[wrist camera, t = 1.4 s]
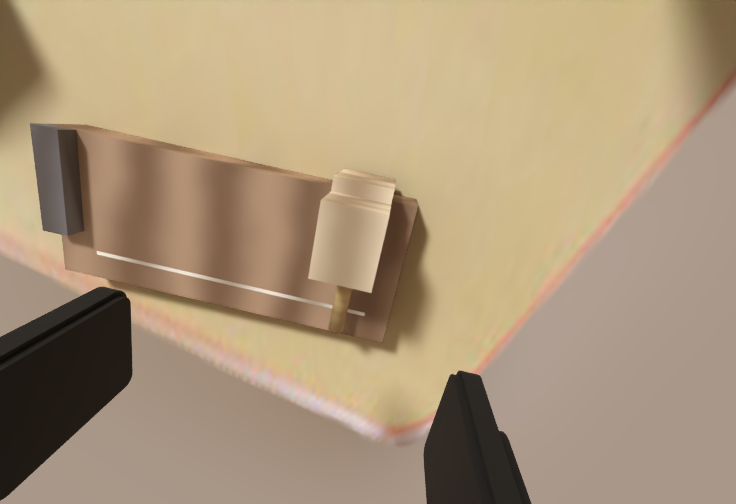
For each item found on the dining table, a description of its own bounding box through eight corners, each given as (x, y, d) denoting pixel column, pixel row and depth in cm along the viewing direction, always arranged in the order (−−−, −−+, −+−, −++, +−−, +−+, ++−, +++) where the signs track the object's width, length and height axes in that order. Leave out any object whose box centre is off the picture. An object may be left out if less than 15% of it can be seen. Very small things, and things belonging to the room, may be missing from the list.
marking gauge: (395, 179, 27) (393, 198, 19) (364, 312, 31) (352, 371, 23) (345, 168, 27) (323, 182, 19) (321, 302, 31) (295, 357, 23)
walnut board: (416, 199, 28) (418, 211, 24) (383, 324, 32) (381, 353, 28) (85, 124, 28) (29, 123, 24) (94, 257, 33) (48, 276, 28)
